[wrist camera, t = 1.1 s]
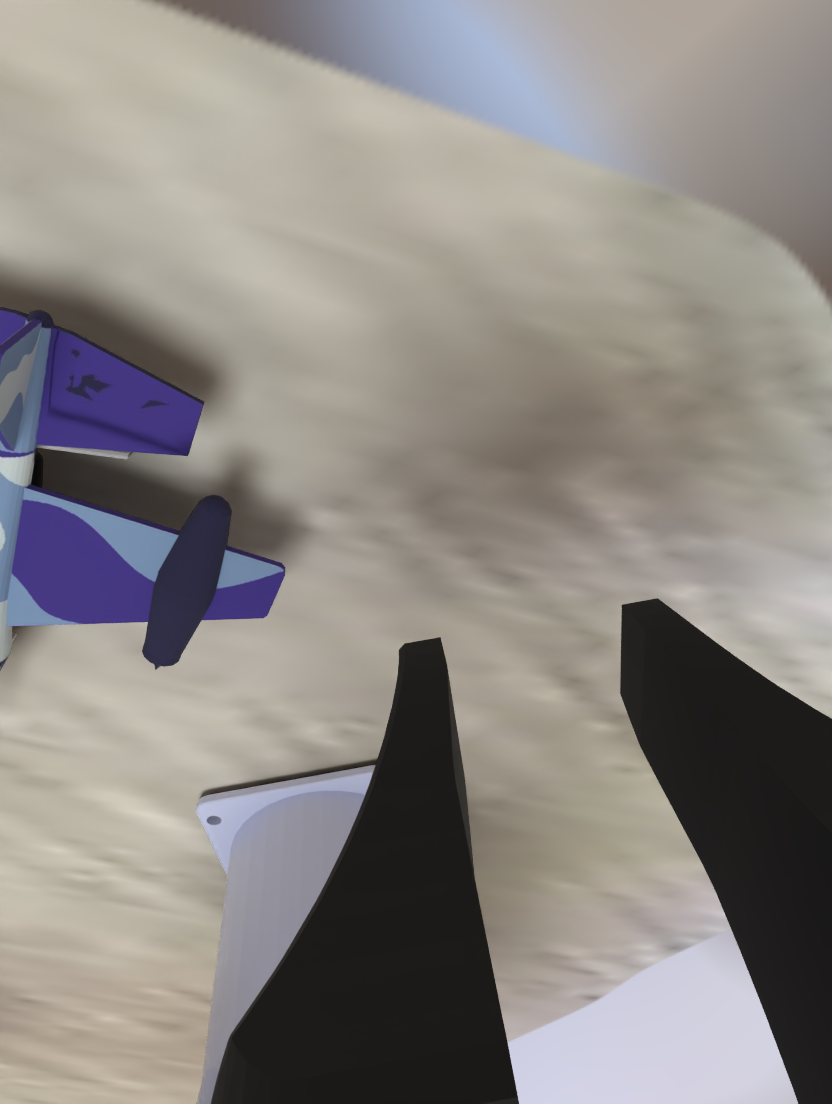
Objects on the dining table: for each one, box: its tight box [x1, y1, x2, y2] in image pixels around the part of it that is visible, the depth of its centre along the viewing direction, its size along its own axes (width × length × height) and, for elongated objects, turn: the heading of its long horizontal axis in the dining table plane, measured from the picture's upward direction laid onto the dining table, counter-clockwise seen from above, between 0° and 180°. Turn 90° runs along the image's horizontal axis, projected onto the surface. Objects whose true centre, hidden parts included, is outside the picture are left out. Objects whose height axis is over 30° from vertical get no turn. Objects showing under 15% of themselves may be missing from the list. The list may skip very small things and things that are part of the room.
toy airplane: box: [0, 307, 285, 670], centre depth 19 cm, size 13×14×4 cm
